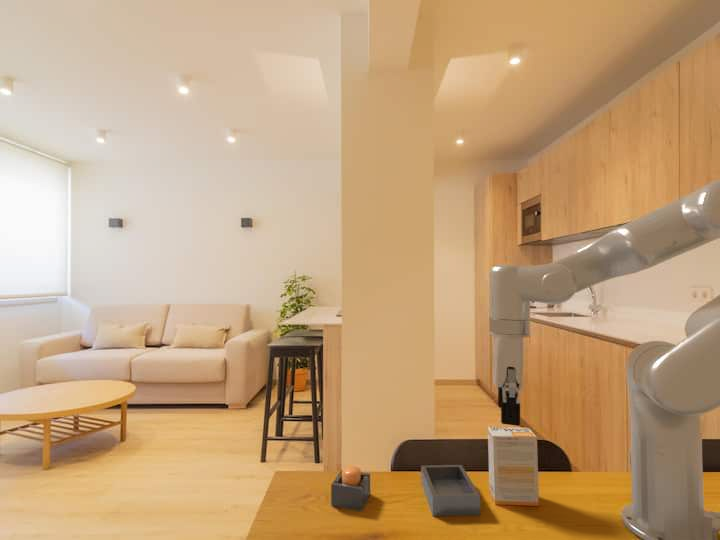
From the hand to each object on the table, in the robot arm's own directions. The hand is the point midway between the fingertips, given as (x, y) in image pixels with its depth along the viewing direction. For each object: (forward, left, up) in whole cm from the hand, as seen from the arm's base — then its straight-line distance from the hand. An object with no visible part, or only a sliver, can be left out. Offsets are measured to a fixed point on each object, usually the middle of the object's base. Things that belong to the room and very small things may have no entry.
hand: (508, 415), depth 75 cm
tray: (+11, +3, -16) cm, 20 cm away
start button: (+29, +9, -14) cm, 34 cm away
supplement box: (-1, 0, -16) cm, 16 cm away
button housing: (+29, +9, -16) cm, 35 cm away
